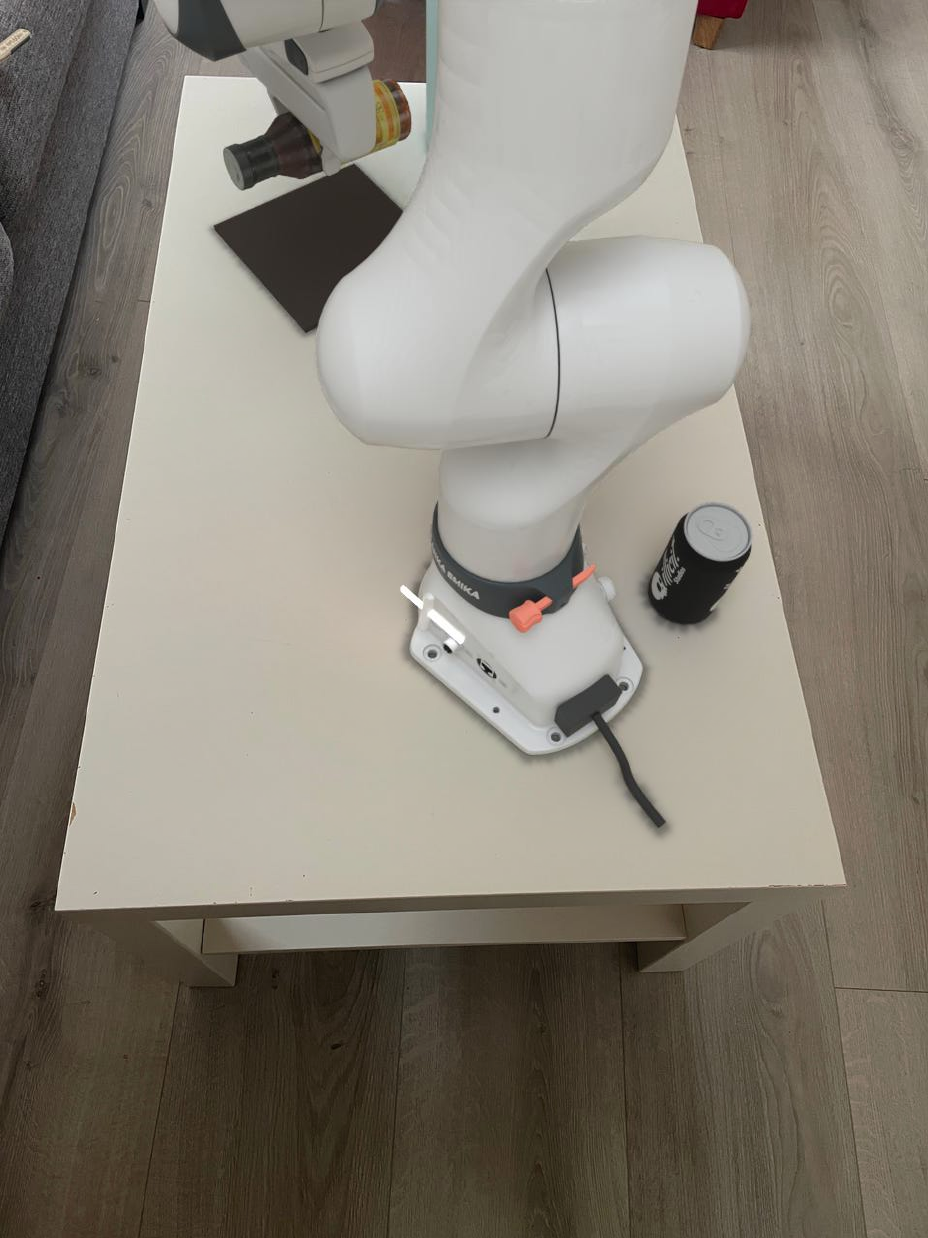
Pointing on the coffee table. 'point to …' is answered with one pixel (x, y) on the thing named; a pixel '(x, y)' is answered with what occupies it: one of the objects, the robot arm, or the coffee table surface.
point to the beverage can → (700, 562)
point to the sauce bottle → (311, 141)
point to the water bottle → (431, 62)
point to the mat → (312, 238)
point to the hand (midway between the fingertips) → (310, 150)
